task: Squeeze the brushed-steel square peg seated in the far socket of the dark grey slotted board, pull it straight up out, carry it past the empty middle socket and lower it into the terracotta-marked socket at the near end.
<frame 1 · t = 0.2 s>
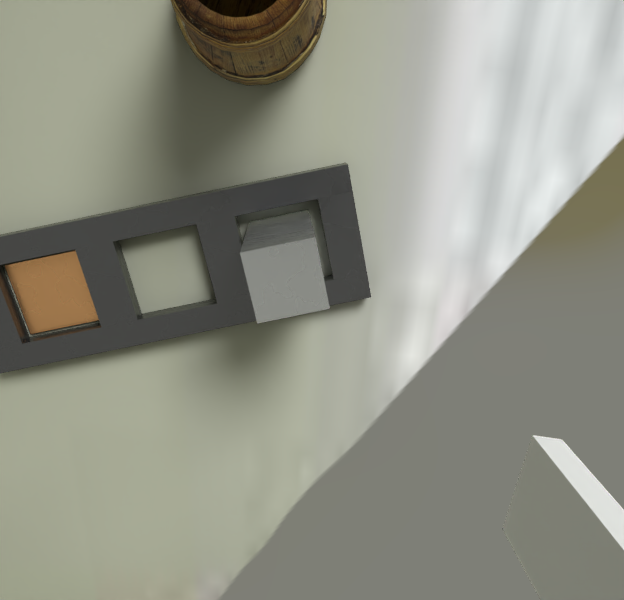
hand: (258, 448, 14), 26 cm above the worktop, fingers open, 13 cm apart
dark grey slotted board: (169, 268, 39), on the worktop
steel peg: (285, 244, 39), resting in dark grey slotted board
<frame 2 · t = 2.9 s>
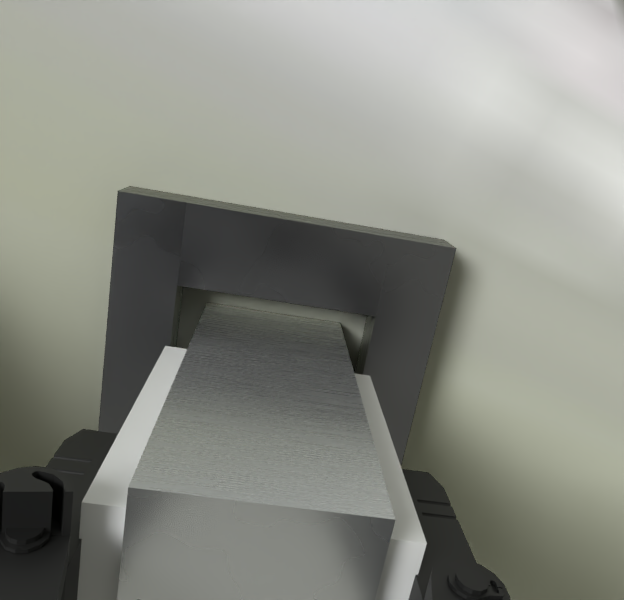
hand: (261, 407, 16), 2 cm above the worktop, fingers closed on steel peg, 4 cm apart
dark grey slotted board: (229, 584, 20), on the worktop
steel peg: (264, 373, 18), resting in dark grey slotted board, touching gripper
when the fingers open (3 cm above the worktop, at t = 8.5 s): steel peg stays where it is, resting on dark grey slotted board.
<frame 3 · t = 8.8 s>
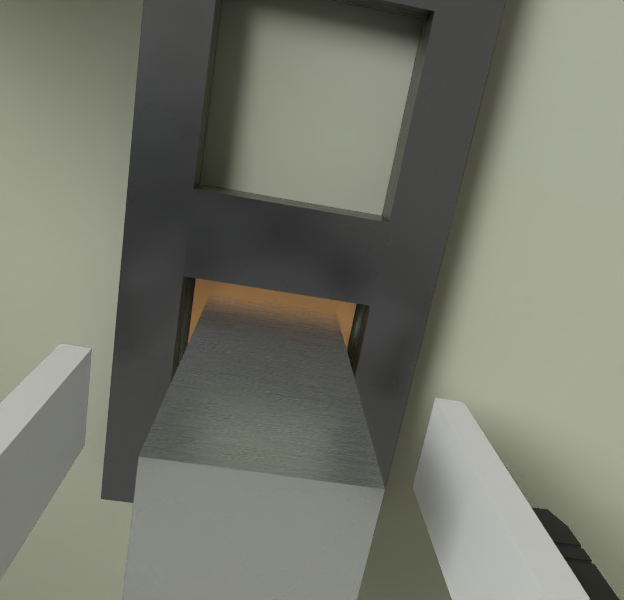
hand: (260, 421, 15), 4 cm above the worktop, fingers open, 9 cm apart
dark grey slotted board: (308, 104, 16), on the worktop
steel peg: (263, 363, 18), resting on dark grey slotted board
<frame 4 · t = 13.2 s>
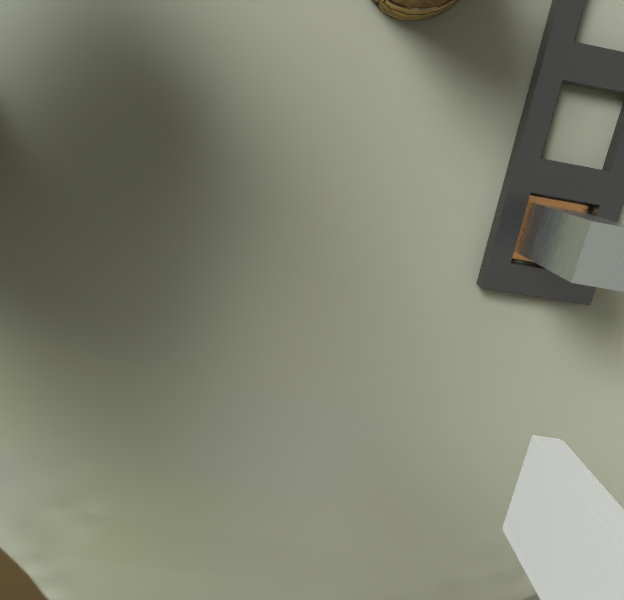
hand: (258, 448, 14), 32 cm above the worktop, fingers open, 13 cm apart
dark grey slotted board: (579, 126, 43), on the worktop
steel peg: (548, 232, 45), resting on dark grey slotted board
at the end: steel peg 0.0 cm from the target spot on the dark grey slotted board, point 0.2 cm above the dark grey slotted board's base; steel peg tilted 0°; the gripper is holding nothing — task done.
